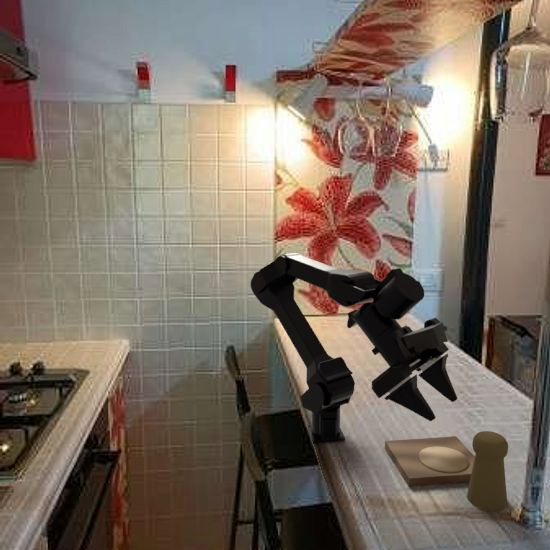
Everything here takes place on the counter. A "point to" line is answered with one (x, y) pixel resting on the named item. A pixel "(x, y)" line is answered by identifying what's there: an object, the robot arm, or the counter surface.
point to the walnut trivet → (431, 460)
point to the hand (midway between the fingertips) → (444, 409)
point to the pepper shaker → (488, 472)
